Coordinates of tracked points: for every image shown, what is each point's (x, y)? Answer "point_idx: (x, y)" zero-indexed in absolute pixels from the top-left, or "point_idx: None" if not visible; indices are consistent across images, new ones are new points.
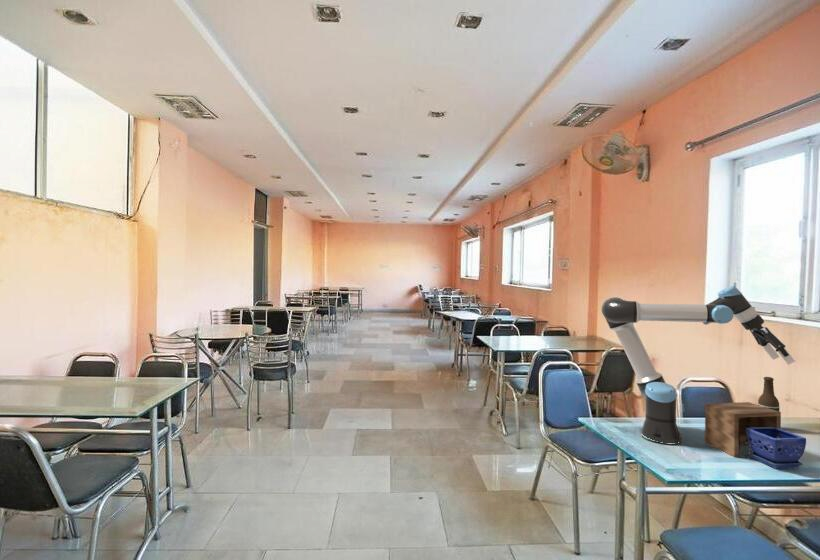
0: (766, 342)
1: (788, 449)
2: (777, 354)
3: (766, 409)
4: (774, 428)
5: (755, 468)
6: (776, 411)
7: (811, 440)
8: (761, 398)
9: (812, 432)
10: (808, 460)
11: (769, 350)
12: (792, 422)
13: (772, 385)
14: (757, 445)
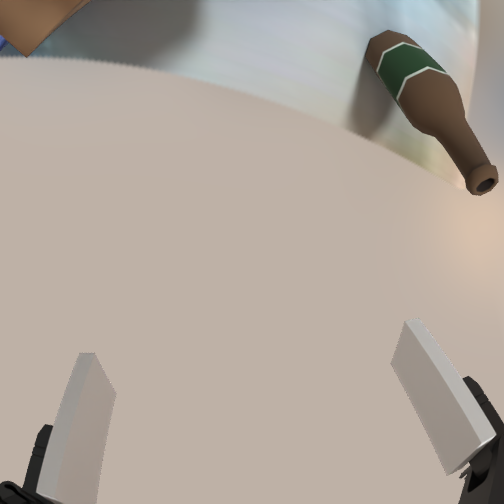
0: (465, 489)
1: None
2: (400, 380)
3: (38, 4)
4: None
5: None
6: (26, 43)
7: (294, 105)
8: (443, 88)
9: (364, 136)
10: (88, 51)
11: (441, 409)
12: (433, 136)
13: (456, 163)
14: None
